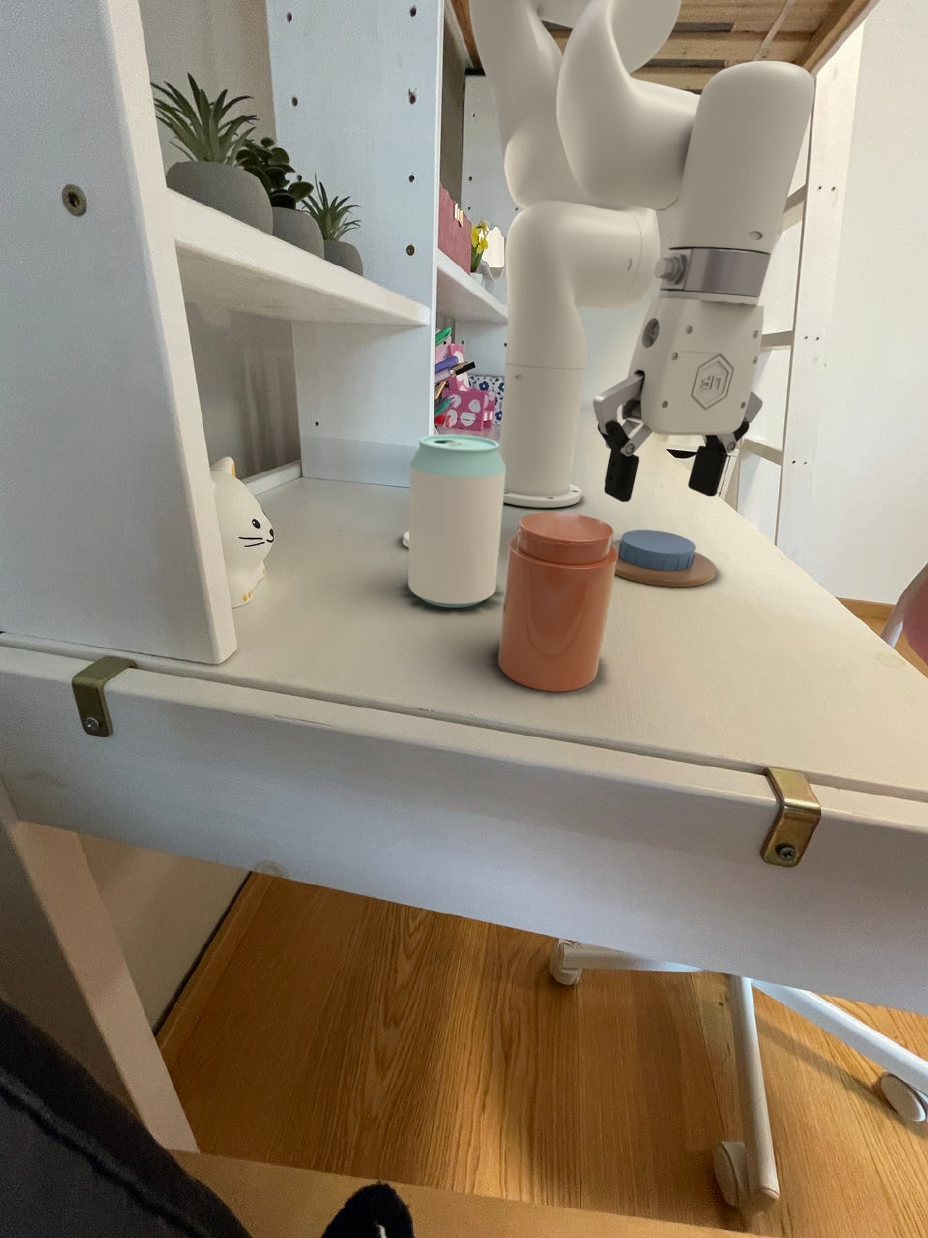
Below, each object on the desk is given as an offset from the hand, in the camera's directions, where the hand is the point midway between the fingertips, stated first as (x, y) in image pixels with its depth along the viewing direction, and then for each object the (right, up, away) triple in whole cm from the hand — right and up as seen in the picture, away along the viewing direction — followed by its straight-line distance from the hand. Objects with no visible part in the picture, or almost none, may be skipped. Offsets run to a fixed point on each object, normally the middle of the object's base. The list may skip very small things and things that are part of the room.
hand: (660, 494), depth 54 cm
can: (-19, -10, -6) cm, 22 cm away
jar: (-13, -14, -16) cm, 25 cm away
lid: (0, -5, +1) cm, 5 cm away
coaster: (0, -6, +2) cm, 7 cm away
